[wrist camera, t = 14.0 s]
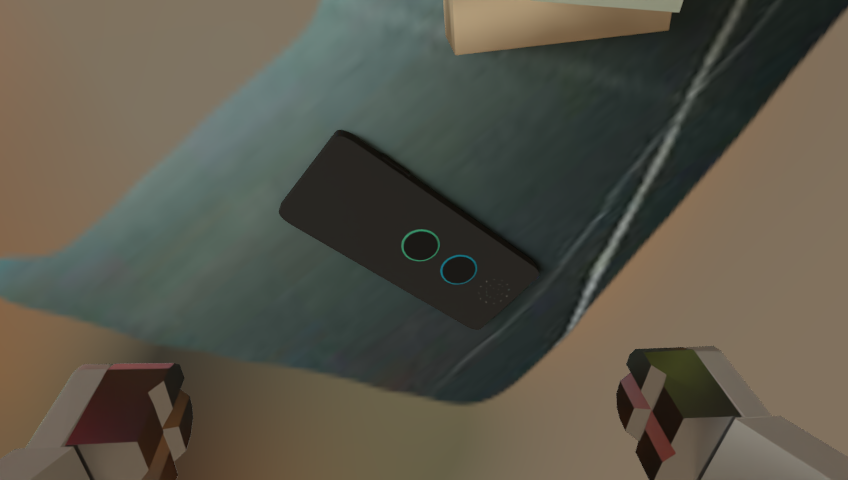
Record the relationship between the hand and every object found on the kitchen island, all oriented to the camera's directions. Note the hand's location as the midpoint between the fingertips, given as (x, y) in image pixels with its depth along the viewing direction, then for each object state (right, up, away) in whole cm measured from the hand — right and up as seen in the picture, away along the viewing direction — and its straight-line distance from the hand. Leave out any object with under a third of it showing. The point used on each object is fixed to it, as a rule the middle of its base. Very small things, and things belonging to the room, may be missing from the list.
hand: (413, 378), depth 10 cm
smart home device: (0, +3, +32) cm, 32 cm away
